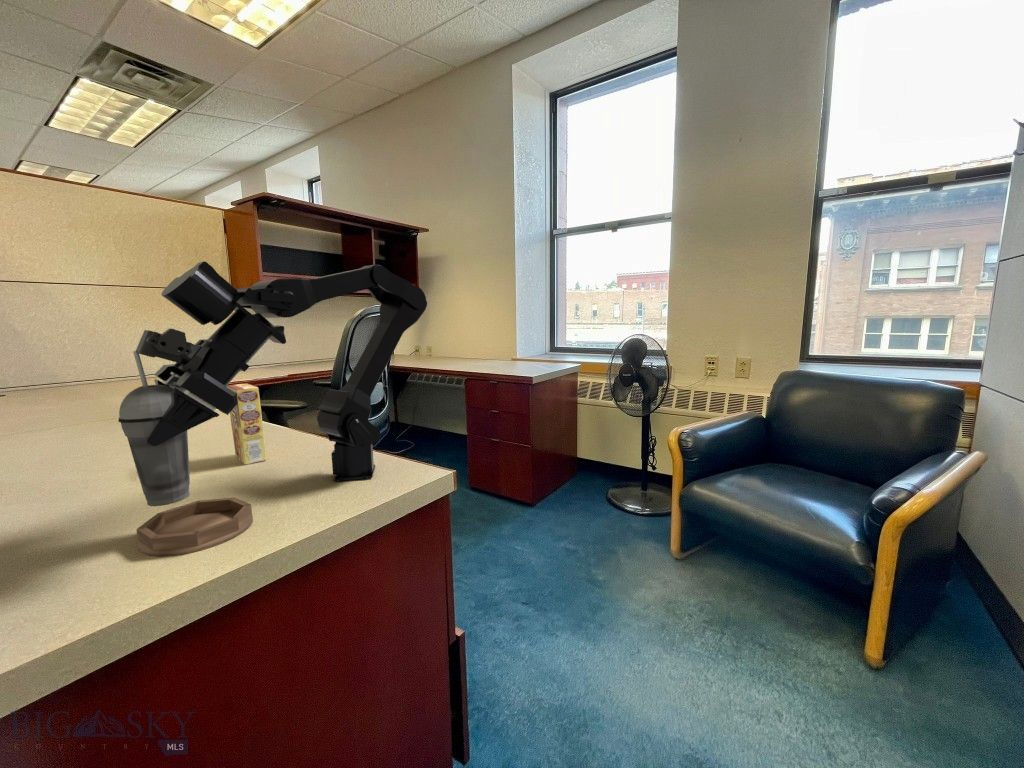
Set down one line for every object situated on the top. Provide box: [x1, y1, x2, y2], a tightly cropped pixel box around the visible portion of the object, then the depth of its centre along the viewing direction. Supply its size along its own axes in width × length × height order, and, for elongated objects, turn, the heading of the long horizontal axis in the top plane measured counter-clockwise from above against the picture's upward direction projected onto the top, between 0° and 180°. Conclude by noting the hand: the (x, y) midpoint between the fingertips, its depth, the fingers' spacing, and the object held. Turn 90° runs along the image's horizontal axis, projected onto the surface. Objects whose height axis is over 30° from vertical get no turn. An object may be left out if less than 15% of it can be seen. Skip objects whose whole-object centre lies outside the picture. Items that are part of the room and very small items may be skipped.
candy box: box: [226, 383, 267, 465], centre depth 90 cm, size 9×4×15 cm, turn 44°
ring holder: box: [136, 497, 254, 557], centre depth 59 cm, size 13×13×2 cm
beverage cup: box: [118, 350, 191, 507], centre depth 57 cm, size 7×7×20 cm
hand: (145, 439), depth 56 cm, fingers closed on beverage cup, 7 cm apart
